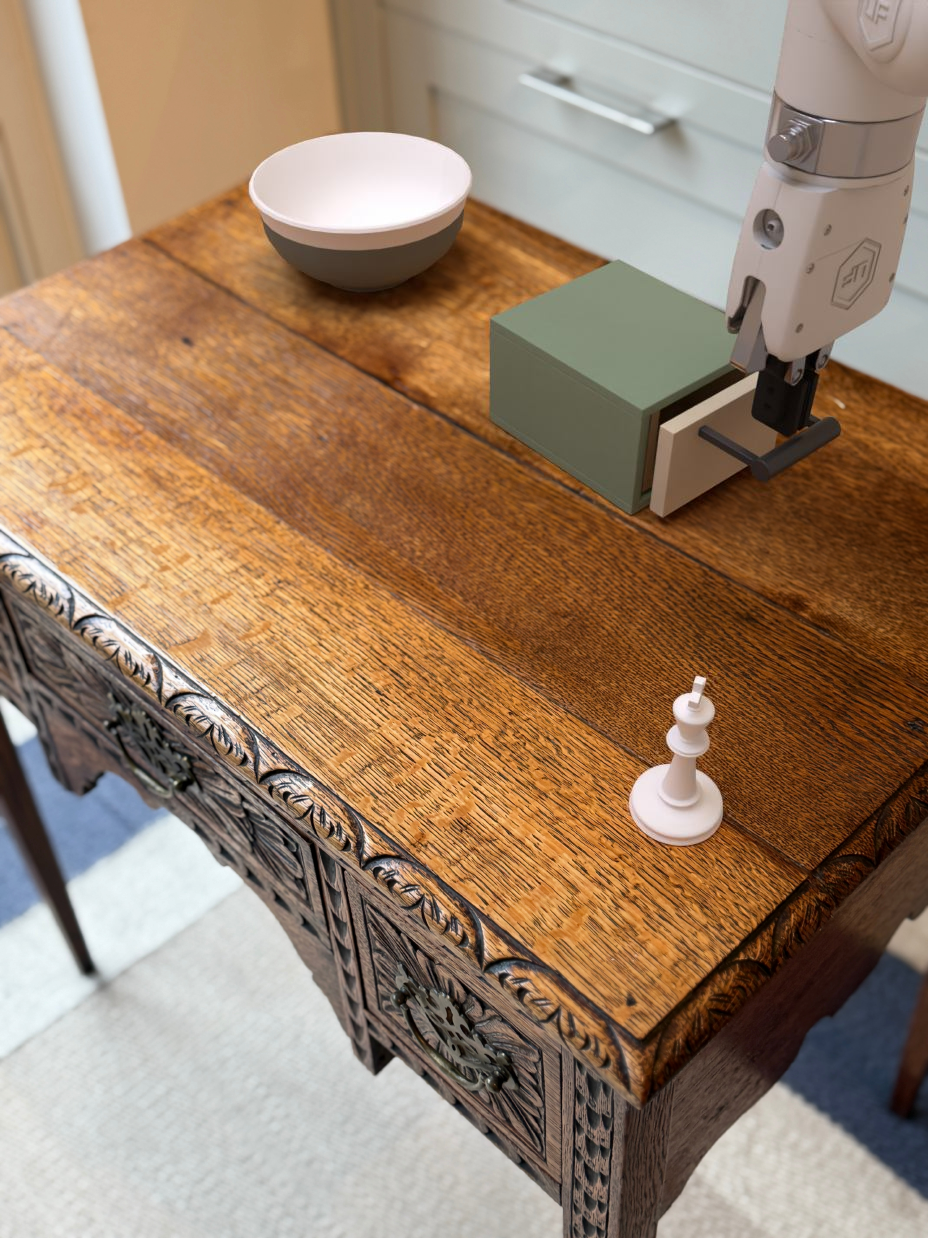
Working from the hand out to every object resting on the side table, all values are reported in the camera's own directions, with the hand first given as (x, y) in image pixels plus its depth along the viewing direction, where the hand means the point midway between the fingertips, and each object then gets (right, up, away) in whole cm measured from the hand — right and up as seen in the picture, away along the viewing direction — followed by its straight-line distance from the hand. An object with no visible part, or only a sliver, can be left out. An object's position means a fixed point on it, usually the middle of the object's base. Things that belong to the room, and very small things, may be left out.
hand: (778, 422), depth 74 cm
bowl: (-28, +19, +30) cm, 45 cm away
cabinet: (-8, +1, +13) cm, 15 cm away
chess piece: (-8, -22, -11) cm, 26 cm away
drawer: (-5, -1, +9) cm, 10 cm away
